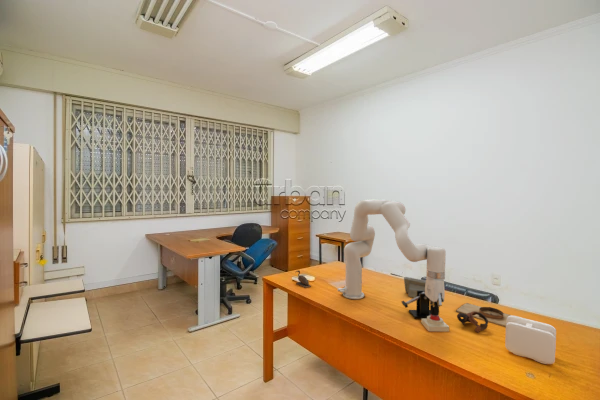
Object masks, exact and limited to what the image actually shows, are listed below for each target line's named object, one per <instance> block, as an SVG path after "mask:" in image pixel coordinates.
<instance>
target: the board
mask: <svg viewBox="0 0 600 400" xmlns="http://www.w3.org/2000/svg"><path fill="white" fill-rule="evenodd" d="M473 311H476V312H479V313H481V314H483V315H484V316H485V317H486V318H487V320H488V323H491V324H495V325H498V326H502V327H505V328H506V325H507V318H508V316H511V315H512V314H508V313H505V312H504V311H502V310H500V309H498V308H495V307H492V306H481V305H480V306H479V305H476V304H472V303H468V302H466V303H464V304H462V305H461V306H460V307H458V308H457V309H456V311H455V312H456V313H457V314H459V313H464V314H467V313H470V312H473ZM473 318H474V319H479V320H481V321H484V322H485V320H484V319H483V318H481V317H479V315H477V314H476V315H473Z"/></svg>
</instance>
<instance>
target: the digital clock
mask: <svg viewBox="0 0 600 400" xmlns="http://www.w3.org/2000/svg"><path fill="white" fill-rule="evenodd" d="M425 283H426V279H420V278H414V277H410V276H404V277H403V284H404V292H405V293H407V294H408V295H407V296H408V297H410V298H412V299H414V298H416V297H417V290H425Z"/></svg>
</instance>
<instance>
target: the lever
mask: <svg viewBox="0 0 600 400" xmlns="http://www.w3.org/2000/svg"><path fill="white" fill-rule="evenodd" d="M422 293H425V292H422ZM418 299H420V294H419V296H418V297H416V298H411V299H409V300H407V301H404V300H402V301H401V304H402V305H403V306H404V307H405V309H408V308H409V305H411V304H412V303H414V302H417V300H418Z"/></svg>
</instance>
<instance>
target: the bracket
mask: <svg viewBox="0 0 600 400" xmlns="http://www.w3.org/2000/svg"><path fill="white" fill-rule="evenodd" d="M422 292H425V290H417V297H418V296H419V294H420V299H418V300H416V309H408V313H409V314H410V315H411V317H412V318H413V319H414V320H421V318H427V316H430V315H431V313H430V299H429V298H428V297H427V296H426V295H425V293H422Z"/></svg>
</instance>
